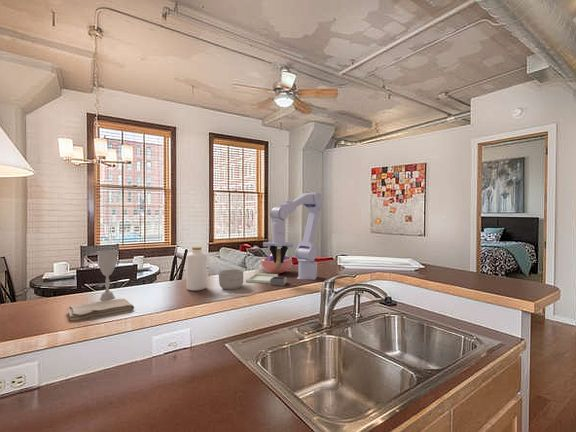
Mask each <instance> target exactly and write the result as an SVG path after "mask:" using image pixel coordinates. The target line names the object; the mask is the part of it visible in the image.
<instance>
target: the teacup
mask: <svg viewBox="0 0 576 432" xmlns="http://www.w3.org/2000/svg"><path fill="white" fill-rule="evenodd" d="M217 274H218V284H219V287H220V288H222V289H223V290H227V291H228V290H231V291H232V290H239V289H240V288H241V287H242V286H243V284H244V270H243V268H231V269H223V270H220V271H218V272H217Z"/></svg>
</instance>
